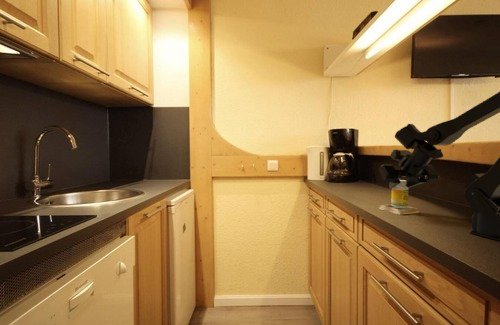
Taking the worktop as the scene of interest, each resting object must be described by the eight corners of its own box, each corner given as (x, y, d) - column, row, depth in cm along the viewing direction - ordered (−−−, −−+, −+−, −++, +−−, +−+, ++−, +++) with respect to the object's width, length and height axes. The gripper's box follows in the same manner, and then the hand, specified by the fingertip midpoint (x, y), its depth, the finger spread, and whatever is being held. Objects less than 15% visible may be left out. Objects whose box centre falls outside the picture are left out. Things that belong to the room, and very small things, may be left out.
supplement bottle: (393, 204, 100) (394, 179, 99) (409, 206, 96) (410, 180, 95) (388, 206, 96) (389, 180, 96) (405, 208, 92) (406, 181, 92)
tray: (419, 212, 93) (419, 208, 93) (400, 214, 90) (400, 210, 90) (397, 207, 102) (397, 203, 102) (379, 209, 99) (379, 205, 99)
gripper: (433, 142, 92) (411, 171, 103) (382, 141, 91) (365, 171, 102) (451, 165, 84) (425, 194, 95) (395, 165, 83) (376, 194, 94)
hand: (397, 187), depth 97 cm, fingers closed on supplement bottle, 5 cm apart
